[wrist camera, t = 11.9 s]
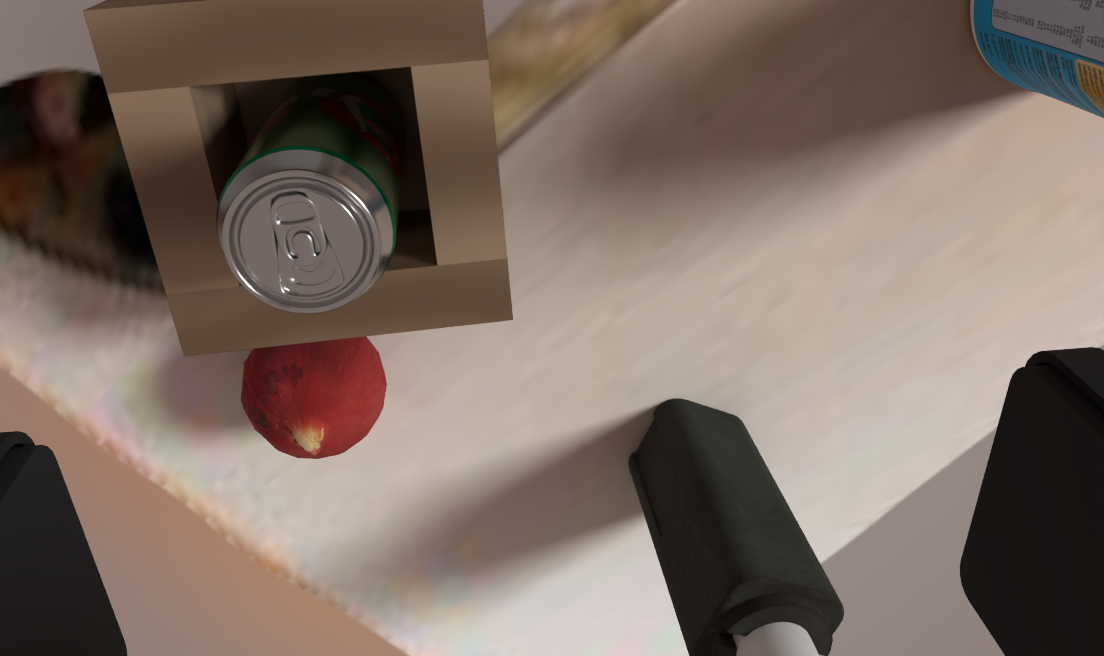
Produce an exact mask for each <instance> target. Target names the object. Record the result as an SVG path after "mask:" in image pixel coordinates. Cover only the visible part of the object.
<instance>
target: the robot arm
mask: <svg viewBox="0 0 1104 656" xmlns="http://www.w3.org/2000/svg"><path fill="white" fill-rule="evenodd" d="M960 577H961V582H962V586H963V589H964V592H965V594H966V596H967V598H968V600H969V601H970V603H971V605H972V606H973V608H974V609H975V611H976V612H977V614H978V615H979V617H980V618H981V620H982V621H983V623H984V624H985V626H986V627H987V629H988V630H989V632H990V633H991V635H992V636H993V638H994V639H995V641H996V642H997V644H998V645H999V647H1000V648H1001V650H1002V651H1003V653H1004V655H1005V656H1104V350H1102V349H1100V348H1093V347H1089V348H1076V349H1063V350H1050V351H1040V352H1038V353H1035V354H1033V355H1032V356H1031V358H1030V359H1029V360H1028V361H1027V363H1026V365H1025V367H1022V368H1019V369H1017V370H1016V371H1015V373H1014V374H1013V375H1012V378H1011V380H1010V383H1009V387H1008V391H1007V394H1006V398H1005V401H1004V405H1003V409H1002V412H1001V416H1000V420H999V423H998V427H997V431H996V435H995V438H994V442H993V445H992V449H991V453H990V456H989V460H988V463H987V467H986V471H985V474H984V478H983V482H982V486H981V489H980V493H979V497H978V500H977V504H976V507H975V511H974V515H973V518H972V522H971V526H970V529H969V533H968V537H967V540H966V544H965V548H964V551H963V555H962V558H961V564H960ZM0 656H127V649H126V644H125V641H124V638H123V635H122V633H121V630H120V627H119V625H118V622H117V620H116V617H115V614H114V611H113V609H112V606H111V603H110V601H109V598H108V595H107V593H106V590H105V588H104V585H103V582H102V580H101V577H100V574H99V572H98V569H97V566H96V564H95V561H94V558H93V555H92V553H91V550H90V548H89V545H88V542H87V540H86V537H85V534H84V532H83V529H82V526H81V524H80V521H79V518H78V516H77V513H76V510H75V508H74V505H73V502H72V500H71V497H70V494H69V492H68V489H67V486H66V484H65V481H64V478H63V476H62V473H61V470H60V468H59V465H58V463H57V460H56V457H55V455H54V453H53V452H52V450H51V449H50V448H49V447H47V446H44V445H37V446H35V444H34V442H33V440H32V439H31V438H30V437H29V436H27V434H26V433H23V432H19V431H15V432H2V433H0Z"/></svg>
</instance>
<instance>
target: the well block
mask: <svg viewBox="0 0 1104 656" xmlns="http://www.w3.org/2000/svg"><path fill="white" fill-rule="evenodd" d="M83 12H84V15H85V19H86V22H87V26H88V29H89V33H90V35H91V39H92V43H93V46H94V50H95V53H96V56H97V60H98V63H99V67H100V70H101V74H102V77H103V80H104V84H105V87H106V91H107V94H108V98H109V101H110V104H111V108H112V111H113V115H114V118H115V121H116V125H117V128H118V132H119V135H120V139H121V142H122V145H123V149H124V152H125V156H126V159H127V162H128V166H129V169H130V173H131V176H132V180H133V183H134V186H135V190H136V193H137V197H138V200H139V203H140V207H141V210H142V214H143V217H144V221H145V224H146V227H147V231H148V234H149V238H150V241H151V245H152V248H153V251H154V255H155V258H156V262H157V265H158V268H159V272H160V275H161V279H162V282H163V286H164V289H165V292H166V296H167V299H168V303H169V306H170V309H171V313H172V316H173V320H174V323H175V327H176V330H177V333H178V337H179V340H180V344H181V347H182V351H183V354H184V356H191V355H200V354H209V353H218V352H227V351H236V350H245V349H254V348H263V347H272V346H282V345H291V344H300V343H309V342H318V341H327V340H336V339H345V338H354V337H363V336H372V335H381V334H390V333H399V332H408V331H417V330H426V329H435V328H444V327H453V326H462V325H471V324H480V323H489V322H498V321H507V320H513V315H512V304H511V294H510V283H509V273H508V262H507V252H506V241H505V231H504V220H503V209H502V199H501V188H500V178H499V167H498V157H497V146H496V136H495V125H494V115H493V104H492V94H491V83H490V73H489V62H488V52H487V41H486V31H485V22H484V10H483V0H106V1H104V2H102V3H99V4H97V5H95V6H93V7H90V8H88V9H86V10H84V11H83ZM347 72H358V73H360V74H363V75H365V76H367V77H369V78H371V79H372V80H374V81H376V82H377V83H378V84H379V85H381V86H382V87H383V88H384V89H385V90H386V91H387V92H388V93H389V94H390V95H391V96H392V98H393V99H394V101H395V102H396V104H397V105H398V107H399V109H400V112H401V114H402V117H403V120H404V123H405V130H406V147H405V157H404V166H403V176H402V185H401V195H400V204H399V213H398V223H397V232H396V242H395V247H394V252H393V256H392V258H391V261H390V263H389V266H388V268H387V269H386V271H385V273H384V274H383V276H382V277H381V278H380V280H379V281H378V282H377V283H376V284H375V285H374V286H373V287H372V288H371V289H370V290H369V291H367V292H366V293H365V294H364V295H362V296H360V297H359V298H357V299H355V300H354V301H351V302H349V303H347V304H346V305H344V306H342V307H339V308H337V309H335V310H332V311H327V312H323V313H316V314H297V313H292V312H286V311H283V310H280V309H277V308H274V307H272V306H270V305H268V304H265V303H263V302H262V301H260V300H259V299H257V298H256V297H254V296H253V295H252V294H251V293H249V292H248V291H247V290H246V289H245V288H244V287H243V286H242V285H241V284H240V282H239V281H238V280H237V279H236V277H235V276H234V274H233V273H232V271H231V269H230V267H229V265H228V263H227V261H226V259H225V257H224V255H223V252H222V250H221V248H220V245H219V241H218V237H217V231H216V213H217V206H218V202H219V199H220V195H221V193H222V191H223V189H224V187H225V185H226V183H227V181H228V180H229V178H230V177H231V175H232V174H233V172H234V171H235V169H236V167H237V166H238V164H239V163H240V161H241V160H242V158H243V156H244V155H245V153H246V152H247V150H248V149H249V147H250V146H251V144H252V142H253V141H254V139H255V138H256V136H257V135H258V133H259V131H260V130H261V128H262V127H263V125H264V124H265V122H266V121H267V119H268V117H269V116H270V114H271V113H272V111H273V110H274V108H275V106H276V105H277V103H278V102H279V100H280V99H281V97H282V96H283V94H284V93H285V92H286V90H287V89H288V88H289V87H290V86H291V85H292V84H293V83H294V82H295V81H297V80H299V79H300V78H302V77H303V76H313V75H324V74H335V73H347Z"/></svg>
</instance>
